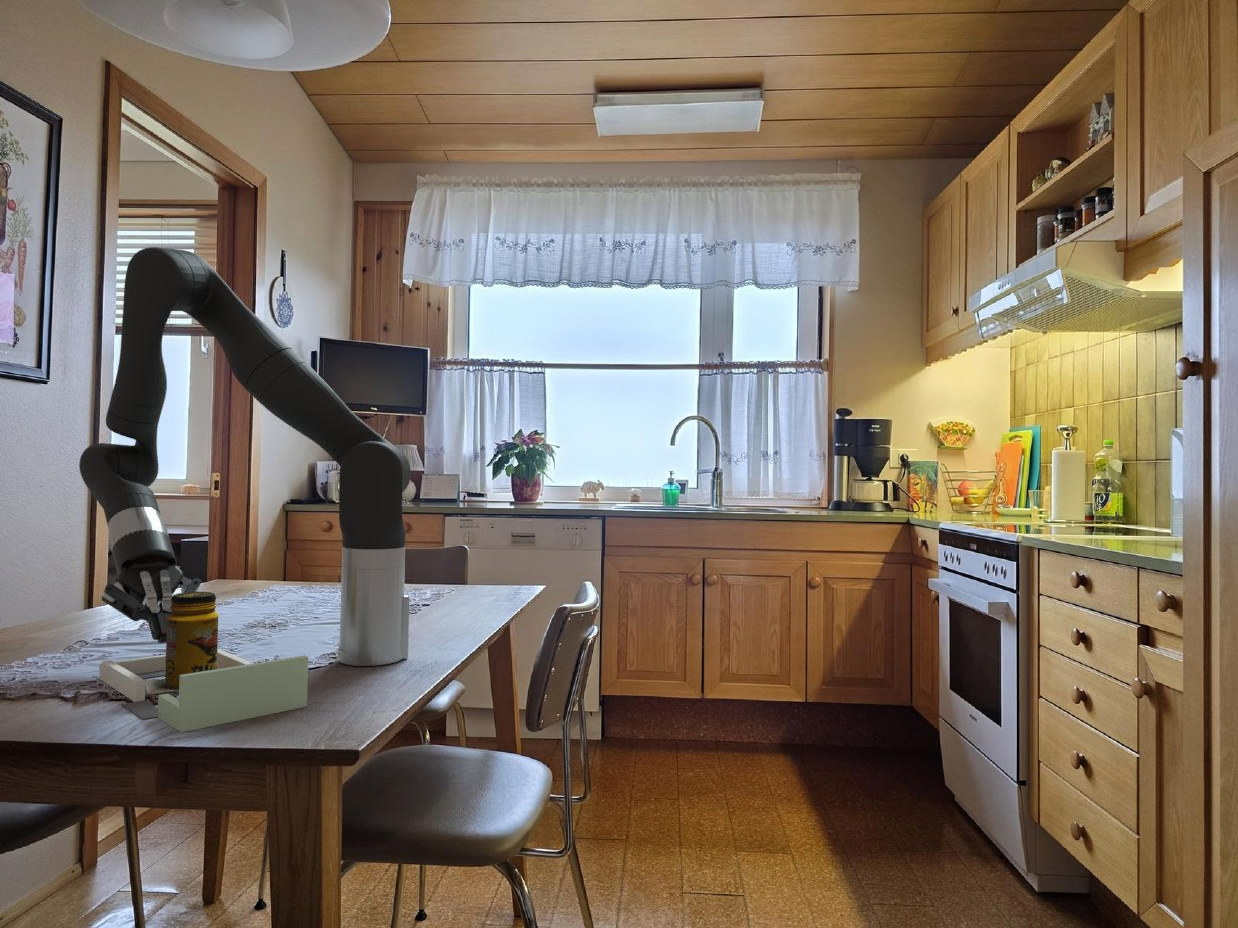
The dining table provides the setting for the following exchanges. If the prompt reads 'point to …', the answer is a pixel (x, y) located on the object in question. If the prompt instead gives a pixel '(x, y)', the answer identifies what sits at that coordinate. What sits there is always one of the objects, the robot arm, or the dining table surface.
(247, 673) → the track
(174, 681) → the condiment
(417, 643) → the dining table surface
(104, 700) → the dining table surface
